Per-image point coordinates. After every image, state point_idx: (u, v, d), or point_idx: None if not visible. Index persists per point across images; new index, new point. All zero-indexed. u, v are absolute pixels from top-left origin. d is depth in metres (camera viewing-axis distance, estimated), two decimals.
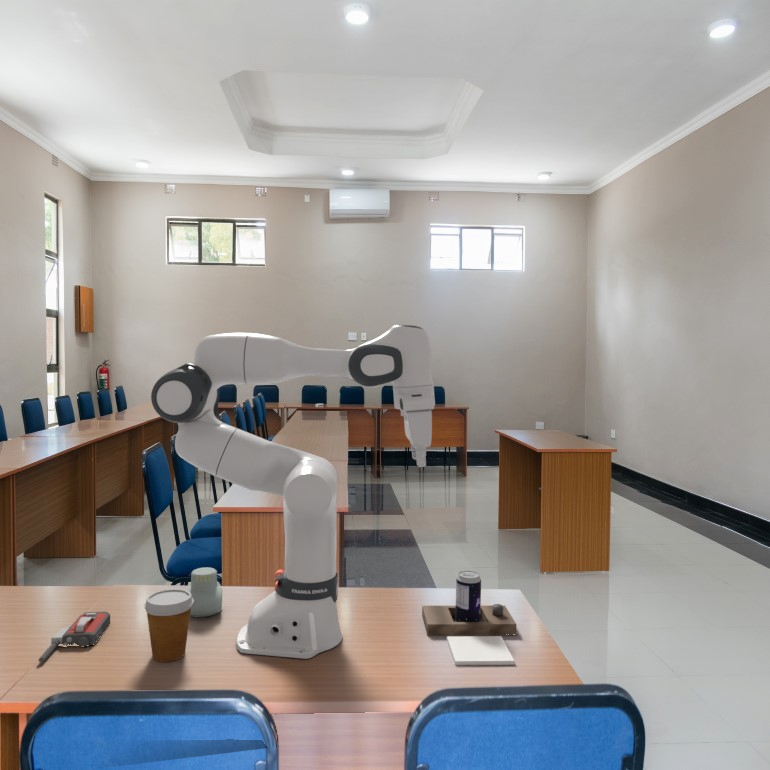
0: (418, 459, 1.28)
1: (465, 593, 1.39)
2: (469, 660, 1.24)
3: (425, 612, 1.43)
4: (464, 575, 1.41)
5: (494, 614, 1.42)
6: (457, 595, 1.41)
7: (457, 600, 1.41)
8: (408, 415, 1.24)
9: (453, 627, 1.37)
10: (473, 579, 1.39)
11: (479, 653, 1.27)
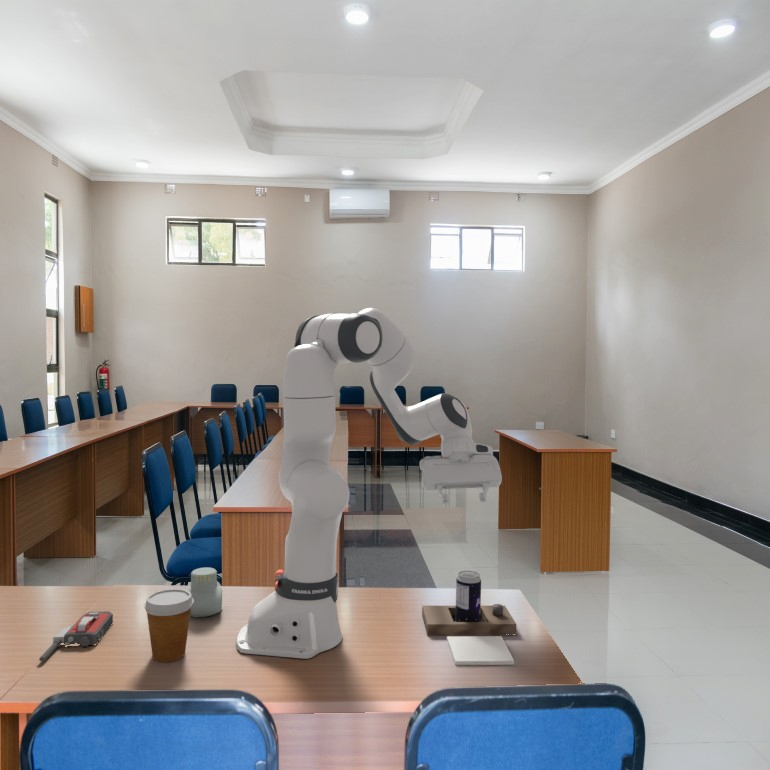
0: (485, 493, 1.53)
1: (465, 593, 1.39)
2: (469, 660, 1.24)
3: (425, 612, 1.43)
4: (465, 575, 1.41)
5: (494, 614, 1.42)
6: (457, 595, 1.41)
7: (457, 600, 1.41)
8: None
9: (453, 627, 1.37)
10: (473, 579, 1.39)
11: (479, 653, 1.27)
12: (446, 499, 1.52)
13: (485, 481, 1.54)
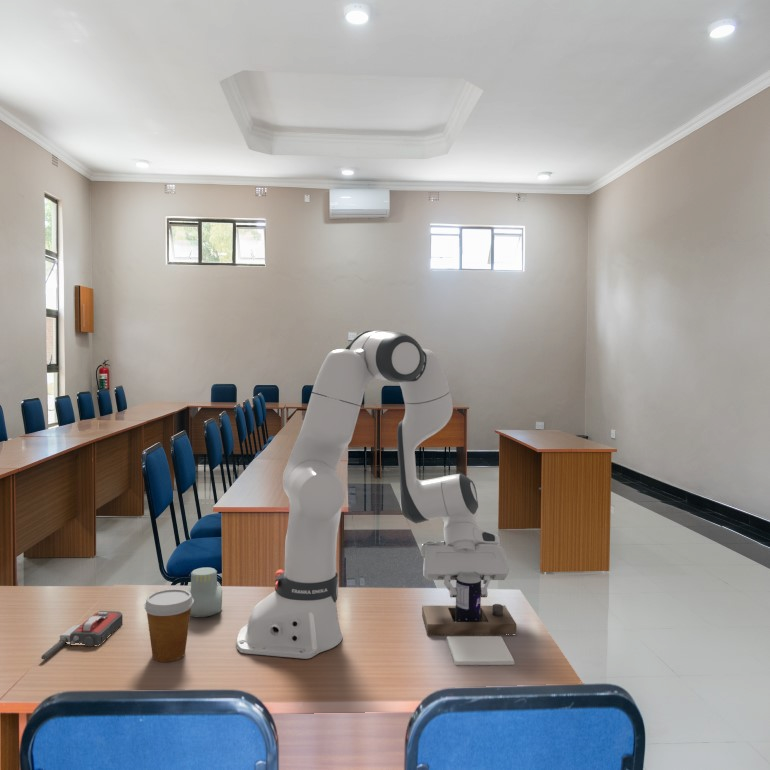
0: None
1: (465, 593, 1.39)
2: (469, 660, 1.24)
3: (425, 612, 1.43)
4: (464, 574, 1.41)
5: (494, 614, 1.42)
6: (457, 595, 1.41)
7: (457, 600, 1.41)
8: (501, 547, 1.48)
9: (453, 627, 1.37)
10: (473, 579, 1.39)
11: (479, 653, 1.27)
12: (455, 593, 1.41)
13: (492, 574, 1.44)
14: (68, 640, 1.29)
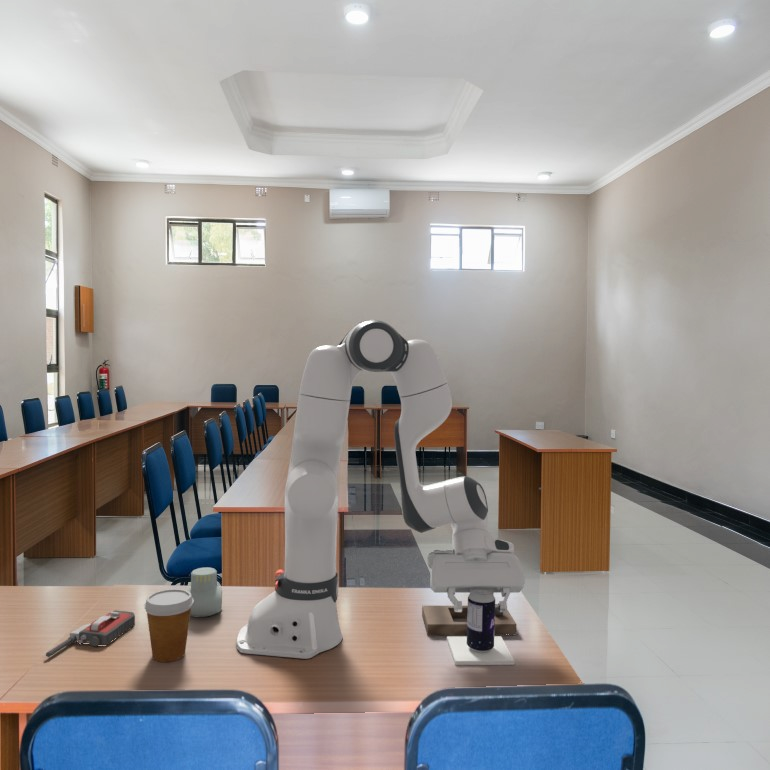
0: None
1: (478, 614, 1.26)
2: (469, 660, 1.24)
3: (425, 612, 1.43)
4: (477, 593, 1.28)
5: None
6: (469, 616, 1.28)
7: (469, 621, 1.28)
8: (515, 556, 1.35)
9: (453, 627, 1.37)
10: (487, 598, 1.26)
11: (479, 653, 1.27)
12: (460, 607, 1.28)
13: (506, 586, 1.31)
14: (77, 638, 1.30)
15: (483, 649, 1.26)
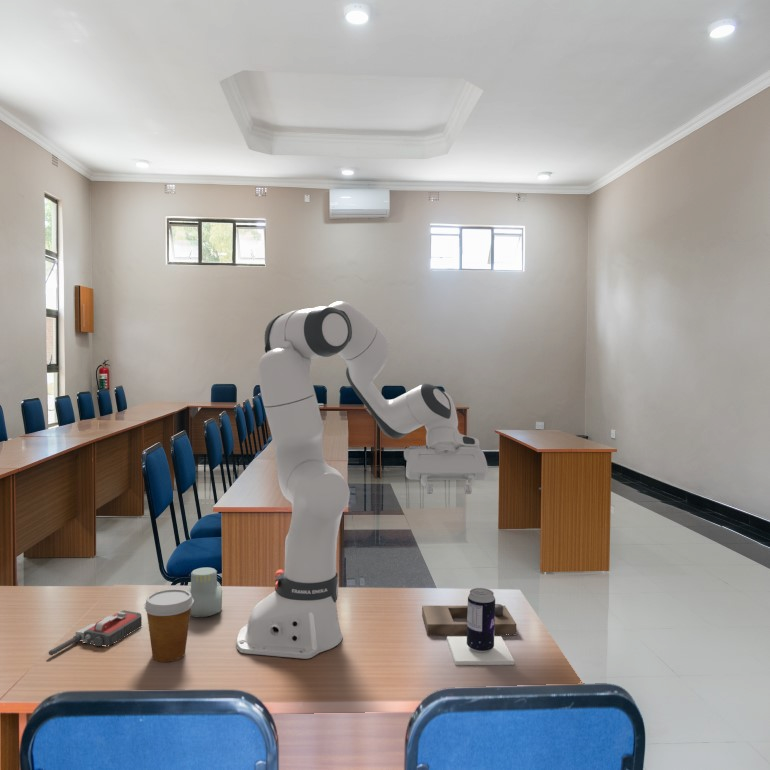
0: (471, 485, 1.49)
1: (478, 614, 1.26)
2: (469, 660, 1.24)
3: (425, 612, 1.43)
4: (477, 593, 1.28)
5: None
6: (469, 616, 1.28)
7: (469, 621, 1.28)
8: (480, 449, 1.54)
9: (453, 627, 1.37)
10: (487, 598, 1.26)
11: (479, 653, 1.27)
12: (431, 489, 1.47)
13: (471, 473, 1.50)
14: (82, 637, 1.30)
15: (483, 649, 1.26)
